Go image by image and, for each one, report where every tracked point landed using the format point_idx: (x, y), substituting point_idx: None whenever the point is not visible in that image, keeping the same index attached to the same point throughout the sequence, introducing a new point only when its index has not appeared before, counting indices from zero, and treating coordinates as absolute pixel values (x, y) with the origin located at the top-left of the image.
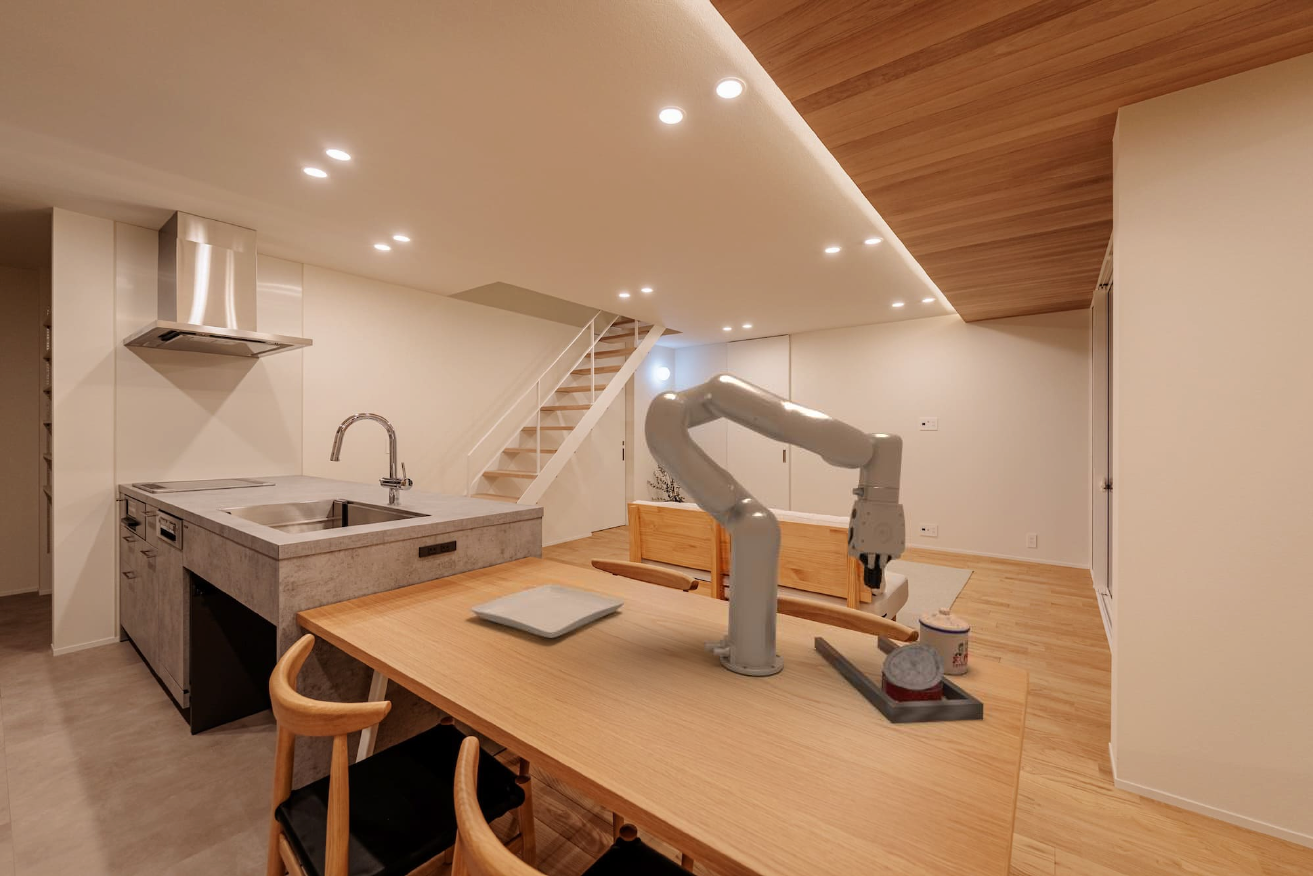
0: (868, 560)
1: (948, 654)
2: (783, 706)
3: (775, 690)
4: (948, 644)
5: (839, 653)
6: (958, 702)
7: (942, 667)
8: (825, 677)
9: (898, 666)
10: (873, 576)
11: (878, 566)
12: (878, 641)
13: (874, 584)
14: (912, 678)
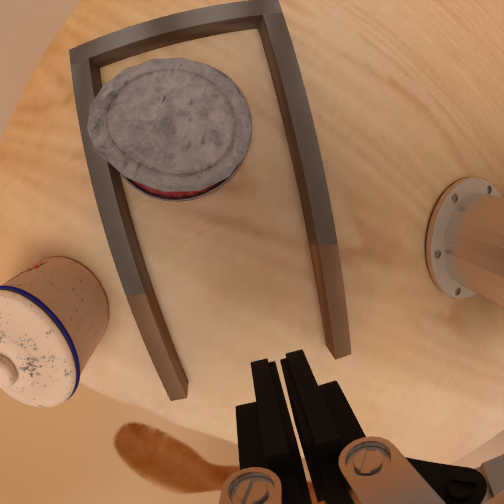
0: (419, 478)
1: (44, 270)
2: (440, 71)
3: (449, 125)
4: (32, 278)
5: (323, 265)
6: (118, 37)
7: (102, 91)
8: (359, 188)
9: (209, 131)
10: (321, 396)
11: (281, 488)
12: (186, 387)
13: (296, 364)
14: (189, 87)
